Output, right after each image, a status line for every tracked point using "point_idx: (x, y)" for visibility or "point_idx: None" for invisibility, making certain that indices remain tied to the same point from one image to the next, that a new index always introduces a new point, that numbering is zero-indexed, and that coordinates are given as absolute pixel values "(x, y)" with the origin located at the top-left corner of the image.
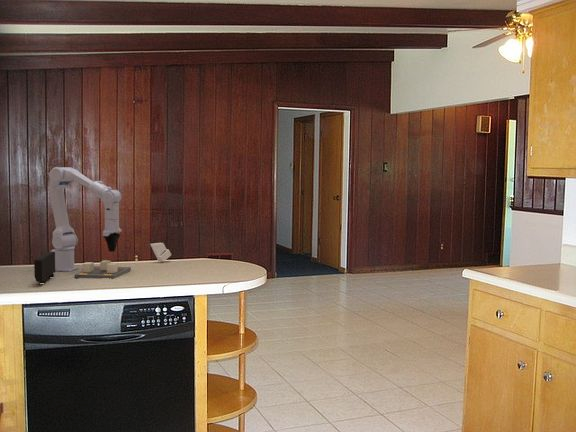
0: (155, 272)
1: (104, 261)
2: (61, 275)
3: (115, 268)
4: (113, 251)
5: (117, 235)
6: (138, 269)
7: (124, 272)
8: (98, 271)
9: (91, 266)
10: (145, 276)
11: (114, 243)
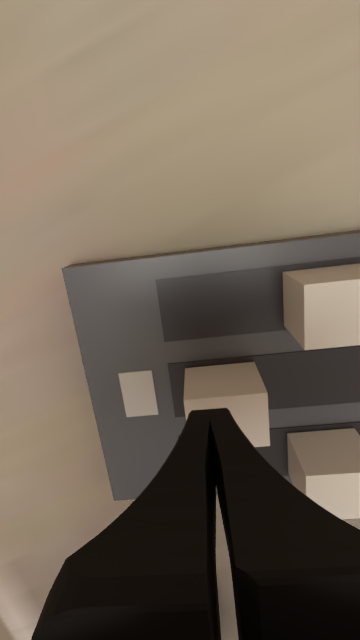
0: (68, 18)
1: (245, 423)
2: None
3: (343, 271)
4: (229, 411)
5: (279, 592)
6: (5, 232)
7: (205, 249)
8: (297, 399)
9: (342, 455)
10: (267, 20)
11: (272, 467)
